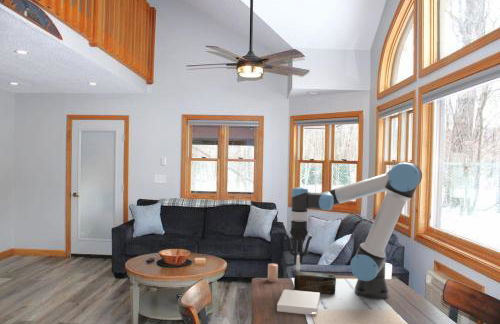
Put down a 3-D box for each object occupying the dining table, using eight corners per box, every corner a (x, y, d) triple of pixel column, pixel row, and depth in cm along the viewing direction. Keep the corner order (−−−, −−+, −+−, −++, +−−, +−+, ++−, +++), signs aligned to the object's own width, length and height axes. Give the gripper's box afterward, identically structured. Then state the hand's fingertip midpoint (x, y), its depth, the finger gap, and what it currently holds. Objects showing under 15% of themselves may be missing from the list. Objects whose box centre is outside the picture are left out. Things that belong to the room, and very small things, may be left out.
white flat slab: (319, 299, 183) (319, 292, 183) (316, 316, 164) (317, 308, 164) (283, 295, 187) (284, 289, 187) (276, 311, 167) (277, 304, 167)
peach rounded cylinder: (278, 279, 212) (278, 263, 212) (276, 282, 207) (277, 266, 207) (268, 278, 213) (268, 263, 213) (266, 281, 208) (267, 265, 208)
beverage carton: (334, 290, 195) (335, 295, 189) (294, 287, 199) (293, 291, 192) (335, 274, 195) (336, 277, 189) (294, 270, 199) (294, 274, 192)
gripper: (313, 219, 198) (312, 268, 199) (286, 218, 201) (285, 266, 201) (312, 222, 191) (311, 273, 191) (284, 220, 194) (283, 270, 194)
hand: (298, 269), depth 196 cm, fingers closed
